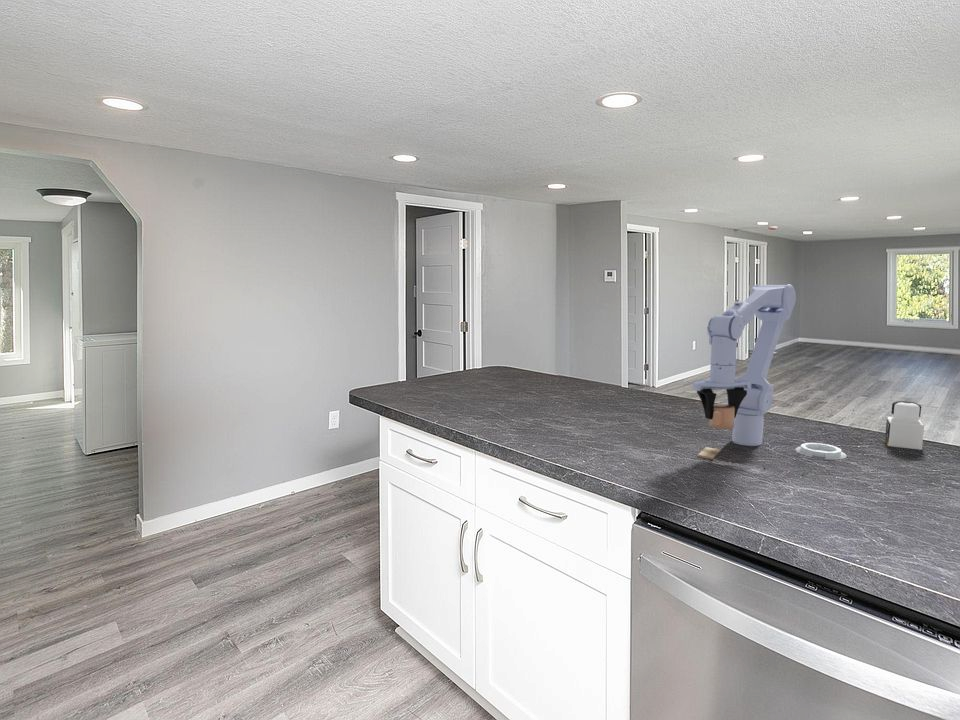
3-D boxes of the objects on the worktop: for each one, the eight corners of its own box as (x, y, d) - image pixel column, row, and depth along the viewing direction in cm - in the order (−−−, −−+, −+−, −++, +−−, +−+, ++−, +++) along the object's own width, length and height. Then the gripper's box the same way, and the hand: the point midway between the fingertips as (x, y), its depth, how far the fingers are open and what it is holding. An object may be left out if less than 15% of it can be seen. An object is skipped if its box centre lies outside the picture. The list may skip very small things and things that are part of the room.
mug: (712, 422, 145) (713, 402, 144) (736, 425, 141) (737, 405, 141) (703, 429, 138) (704, 409, 137) (727, 433, 134) (729, 412, 134)
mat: (705, 448, 148) (705, 447, 148) (738, 454, 144) (738, 452, 143) (697, 456, 142) (697, 454, 142) (731, 462, 137) (732, 460, 137)
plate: (797, 446, 149) (798, 439, 149) (847, 453, 143) (848, 445, 143) (792, 457, 141) (793, 449, 140) (844, 465, 134) (845, 457, 134)
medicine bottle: (884, 442, 153) (888, 398, 151) (917, 445, 149) (922, 401, 148) (887, 448, 147) (891, 403, 145) (921, 452, 143) (926, 406, 142)
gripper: (740, 360, 144) (737, 412, 146) (687, 362, 142) (685, 415, 144) (757, 364, 137) (754, 419, 139) (702, 366, 135) (699, 422, 137)
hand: (720, 417), depth 141 cm, fingers closed on mug, 6 cm apart
